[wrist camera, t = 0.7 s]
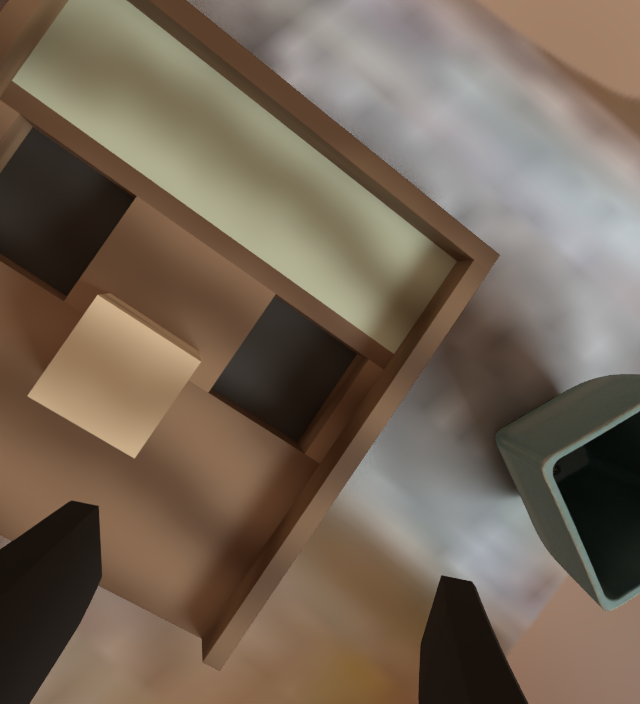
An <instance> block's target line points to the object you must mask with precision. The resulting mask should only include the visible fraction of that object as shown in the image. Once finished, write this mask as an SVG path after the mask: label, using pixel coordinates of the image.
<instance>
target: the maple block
mask: <svg viewBox="0 0 640 704" xmlns="http://www.w3.org/2000/svg"><path fill="white" fill-rule="evenodd" d="M200 363H201V357H200V351H198V350H197V349H195V348H194V347H192V346H191V345H189V344H188V343H186V342H185V341H183V340H181V339H180V338H178V337H177V336H175V335H174V334H172V333H171V332H169V331H168V330H166V329H165V328H163V327H161V326H160V325H158V324H157V323H155V322H154V321H152V320H151V319H149V318H148V317H146V316H145V315H143V314H142V313H140V312H138V311H137V310H135V309H134V308H132V307H131V306H129V305H128V304H126V303H125V302H123V301H122V300H120V299H118V298H117V297H115V296H114V295H112V294H111V293H108V294H100V295H97V296H96V298H95V299H94V301H93V302H92V303H91V305H90V306H89V308H88V309H87V311H86V312H85V314H84V315H83V316H82V318H81V319H80V321H79V322H78V324H77V325H76V327H75V328H74V329H73V331H72V332H71V334H70V335H69V337H68V338H67V339H66V341H65V342H64V344H63V345H62V347H61V348H60V350H59V351H58V352H57V354H56V355H55V357H54V358H53V360H52V361H51V363H50V364H49V365H48V367H47V368H46V370H45V371H44V373H43V374H42V375H41V377H40V378H39V380H38V381H37V383H36V384H35V386H34V387H33V388H32V390H31V391H30V393H29V394H28V397H30V398H31V399H33V400H35V401H36V402H38V403H40V404H42V405H43V406H45V407H47V408H48V409H50V410H52V411H54V412H55V413H57V414H59V415H60V416H62V417H64V418H66V419H67V420H69V421H71V422H73V423H74V424H76V425H78V426H79V427H81V428H83V429H85V430H86V431H88V432H90V433H91V434H93V435H95V436H97V437H98V438H100V439H102V440H103V441H105V442H107V443H109V444H110V445H112V446H114V447H115V448H117V449H119V450H121V451H122V452H124V453H126V454H128V455H129V456H131V457H133V458H134V459H135V457H136V456H137V454H138V453H139V452H140V450H141V449H142V447H143V446H144V444H145V443H146V441H147V440H148V438H149V437H150V436H151V434H152V433H153V431H154V430H155V428H156V427H157V425H158V424H159V422H160V421H161V419H162V418H163V417H164V415H165V414H166V412H167V411H168V409H169V408H170V406H171V405H172V403H173V402H174V401H175V399H176V398H177V396H178V395H179V393H180V392H181V390H182V389H183V387H184V386H185V385H186V383H187V382H188V380H189V379H190V377H191V376H192V374H193V373H194V371H195V370H196V368H197V367H198V366H199V364H200Z"/></svg>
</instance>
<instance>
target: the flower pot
mask: <svg viewBox="0 0 640 704" xmlns="http://www.w3.org/2000/svg"><path fill="white" fill-rule="evenodd" d="M495 439H496V444H497V446H498V449H499V451H500V453H501V455H502V457H503V459H504V461H505V464H506V466H507V468H508V470H509V472H510V474H511V477H512V479H513V481H514V483H515V485H516V488H517V490H518V492H519V494H520V496H521V499H522V501H523V503H524V505H525V507H526V510H527V512H528V514H529V516H530V519H531V521H532V524H533V526H534V528H535V530H536V532H537V534H538V535H539V537H540V539H541V541H542V542H543V544H544V546H545V547H546V549H547V550H548V551H549V553H550V554H551V555H552V556H553V558H554V559H555V560H556V561H557V562H558V563H559V564H560V565H561V566H562V567H563V568H564V569H565V570H566V572H567V573H568V574H569V575H570V576H571V577H572V578H573V579H574V580H575V581H576V582H577V583H578V584H579V585H580V586H581V587H582V588H583V589H584V590H585V591H586V592H587V593H588V594H589V595H590V596H591V597H592V598H593V599H594V600H595V601H596V603H598V605H599V606H600V607H601V608H602V609H603V610H605V611H611V610H613V609H616V608H617V607H620V606H621V605H623V604H625V603H626V602H628V601H629V600H630V599H632V598H634V597H635V596H637V595H638V594H639V593H640V375H636V374H621V375H609V376H604V377H599V378H595V379H592V380H589V381H586V382H583V383H581V384H579V385H577V386H575V387H573V388H571V389H569V390H567V391H565V392H563V393H561V394H560V395H558V396H556V397H555V398H553V399H551V400H550V401H548V402H546V403H545V404H543V405H541V406H540V407H538V408H536V409H535V410H533V411H531V412H529V413H528V414H526V415H524V416H522V417H521V418H519V419H517V420H516V421H514V422H512V423H510V424H508V425H507V426H505V427H503V428H502V429H500V430H499V431H498V432H497V434H496V437H495ZM555 465H556V466H558V472H556V473H553V467H554V466H555Z"/></svg>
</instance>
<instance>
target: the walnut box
mask: <svg viewBox="0 0 640 704" xmlns="http://www.w3.org/2000/svg"><path fill="white" fill-rule="evenodd" d="M499 256H500V255H499V254H498V253H497V252H495V251H494V250H493V249H492V248H491V247H489V246H488V245H487V244H486V243H484V242H483V241H482V240H481V239H479V238H478V237H477V236H476V235H475V234H473V233H472V232H471V231H470V230H468V229H467V228H466V227H465V226H463V225H462V224H461V223H460V222H458V221H457V220H456V219H455V218H454V217H452V216H451V215H450V214H449V213H447V212H446V211H445V210H444V209H442V208H441V207H440V206H439V205H438V204H436V203H435V202H434V201H433V200H431V199H430V198H429V197H428V196H426V195H425V194H424V193H423V192H422V191H420V190H419V189H418V188H417V187H415V186H414V185H413V184H412V183H410V182H409V181H408V180H407V179H406V178H404V177H403V176H402V175H401V174H399V173H398V172H397V171H396V170H394V169H393V168H392V167H391V166H390V165H388V164H387V163H386V162H385V161H383V160H382V159H381V158H380V157H378V156H377V155H376V154H375V153H374V152H372V151H371V150H370V149H369V148H367V147H366V146H365V145H364V144H362V143H361V142H360V141H359V140H357V139H356V138H355V137H354V136H353V135H351V134H350V133H349V132H348V131H346V130H345V129H344V128H343V127H341V126H340V125H339V124H338V123H337V122H335V121H334V120H333V119H332V118H330V117H329V116H328V115H327V114H325V113H324V112H323V111H322V110H321V109H319V108H318V107H317V106H316V105H314V104H313V103H312V102H311V101H309V100H308V99H307V98H306V97H305V96H303V95H302V94H301V93H300V92H298V91H297V90H296V89H295V88H293V87H292V86H291V85H290V84H289V83H287V82H286V81H285V80H284V79H282V78H281V77H280V76H279V75H277V74H276V73H275V72H274V71H273V70H271V69H270V68H269V67H268V66H266V65H265V64H264V63H263V62H261V61H260V60H259V59H258V58H256V57H255V56H254V55H253V54H252V53H250V52H249V51H248V50H247V49H245V48H244V47H243V46H242V45H240V44H239V43H238V42H237V41H236V40H234V39H233V38H232V37H231V36H229V35H228V34H227V33H226V32H224V31H223V30H222V29H221V28H220V27H218V26H217V25H216V24H215V23H213V22H212V21H211V20H210V19H208V18H207V17H206V16H205V15H204V14H202V13H201V12H200V11H199V10H197V9H196V8H195V7H194V6H192V5H191V4H190V3H189V2H188V1H186V0H8V2H7V3H6V5H5V6H4V7H3V9H2V10H1V12H0V535H2V536H3V537H5V538H7V539H9V540H11V541H13V540H15V539H16V538H17V537H19V536H20V535H22V534H23V533H25V532H26V531H28V530H29V529H30V528H32V527H33V526H35V525H36V524H37V523H39V522H40V521H42V520H43V519H45V518H46V517H47V516H49V515H50V514H52V513H53V512H55V511H56V510H58V509H59V508H61V507H62V506H63V505H65V504H66V503H68V502H69V501H71V500H73V501H78V502H82V503H87V504H92V505H97V506H99V519H100V540H101V560H102V578H101V580H100V583H99V586H101V587H103V588H104V589H106V590H108V591H110V592H112V593H114V594H116V595H118V596H120V597H122V598H124V599H126V600H128V601H130V602H132V603H134V604H136V605H137V606H139V607H141V608H143V609H145V610H147V611H149V612H151V613H153V614H155V615H157V616H159V617H161V618H163V619H165V620H167V621H169V622H170V623H172V624H174V625H176V626H178V627H180V628H182V629H184V630H186V631H188V632H190V633H192V634H194V635H196V636H198V637H200V638H202V657H203V663H205V664H207V665H209V666H211V667H213V668H215V669H217V670H219V671H220V670H221V669H222V667H223V666H224V664H225V663H226V661H227V660H228V658H229V657H230V655H231V654H232V652H233V651H234V649H235V648H236V646H237V645H238V643H239V642H240V640H241V639H242V637H243V636H244V634H245V633H246V631H247V630H248V628H249V627H250V625H251V624H252V622H253V621H254V620H255V618H256V617H257V615H258V614H259V612H260V611H261V609H262V608H263V606H264V605H265V603H266V602H267V600H268V599H269V597H270V596H271V594H272V593H273V591H274V590H275V588H276V587H277V585H278V584H279V582H280V581H281V579H282V578H283V576H284V575H285V573H286V572H287V571H288V569H289V568H290V566H291V565H292V563H293V562H294V560H295V559H296V557H297V556H298V554H299V553H300V551H301V550H302V548H303V547H304V545H305V544H306V542H307V541H308V539H309V538H310V536H311V535H312V533H313V532H314V530H315V529H316V527H317V526H318V524H319V523H320V522H321V520H322V519H323V517H324V516H325V514H326V513H327V511H328V510H329V508H330V507H331V505H332V504H333V502H334V501H335V499H336V498H337V496H338V495H339V493H340V492H341V490H342V489H343V487H344V486H345V484H346V483H347V481H348V480H349V478H350V477H351V475H352V474H353V473H354V471H355V470H356V468H357V467H358V465H359V464H360V462H361V461H362V459H363V458H364V456H365V455H366V453H367V452H368V450H369V449H370V447H371V446H372V444H373V443H374V441H375V440H376V438H377V437H378V435H379V434H380V432H381V431H382V429H383V428H384V426H385V425H386V424H387V422H388V421H389V419H390V418H391V416H392V415H393V413H394V412H395V410H396V409H397V407H398V406H399V404H400V403H401V401H402V400H403V398H404V397H405V395H406V394H407V392H408V391H409V389H410V388H411V386H412V385H413V383H414V382H415V380H416V379H417V377H418V376H419V375H420V373H421V372H422V370H423V369H424V367H425V366H426V364H427V363H428V361H429V360H430V358H431V357H432V355H433V354H434V352H435V351H436V349H437V348H438V346H439V345H440V343H441V342H442V340H443V339H444V337H445V336H446V334H447V333H448V331H449V330H450V329H451V327H452V326H453V324H454V323H455V321H456V320H457V318H458V317H459V315H460V314H461V312H462V311H463V309H464V308H465V306H466V305H467V303H468V302H469V300H470V299H471V297H472V296H473V294H474V293H475V291H476V290H477V288H478V287H479V285H480V284H481V282H482V281H483V280H484V278H485V277H486V275H487V274H488V272H489V271H490V269H491V268H492V266H493V265H494V263H495V262H496V260H497V259H498V257H499ZM108 293H111V294H112V295H114V296H115V297H117V298H118V299H120V300H122V301H123V302H125V303H126V304H128V305H129V306H131V307H132V308H134V309H135V310H137V311H138V312H140V313H142V314H143V315H145V316H146V317H148V318H149V319H151V320H152V321H154V322H155V323H157V324H158V325H160V326H161V327H163V328H165V329H166V330H168V331H169V332H171V333H172V334H174V335H175V336H177V337H178V338H180V339H181V340H183V341H185V342H186V343H188V344H189V345H191V346H192V347H194V348H195V349H197V350H198V351H200V357H201V363H200V364H199V366H198V367H197V368H196V370H195V371H194V373H193V374H192V376H191V377H190V379H189V380H188V382H187V383H186V385H185V386H184V387H183V389H182V390H181V392H180V393H179V395H178V396H177V398H176V399H175V401H174V402H173V403H172V405H171V406H170V408H169V409H168V411H167V412H166V414H165V415H164V417H163V418H162V419H161V421H160V422H159V424H158V425H157V427H156V428H155V430H154V431H153V433H152V434H151V436H150V437H149V438H148V440H147V441H146V443H145V444H144V446H143V447H142V449H141V450H140V452H139V453H138V454H137V456H136V457H135V459H134V458H133V457H131V456H129V455H128V454H126V453H124V452H122V451H121V450H119V449H117V448H115V447H114V446H112V445H110V444H109V443H107V442H105V441H103V440H102V439H100V438H98V437H97V436H95V435H93V434H91V433H90V432H88V431H86V430H85V429H83V428H81V427H79V426H78V425H76V424H74V423H73V422H71V421H69V420H67V419H66V418H64V417H62V416H60V415H59V414H57V413H55V412H54V411H52V410H50V409H48V408H47V407H45V406H43V405H42V404H40V403H38V402H36V401H35V400H33V399H31V398H30V397H28V394H29V393H30V391H31V390H32V388H33V387H34V386H35V384H36V383H37V381H38V380H39V378H40V377H41V375H42V374H43V373H44V371H45V370H46V368H47V367H48V365H49V364H50V363H51V361H52V360H53V358H54V357H55V355H56V354H57V352H58V351H59V350H60V348H61V347H62V345H63V344H64V342H65V341H66V339H67V338H68V337H69V335H70V334H71V332H72V331H73V329H74V328H75V327H76V325H77V324H78V322H79V321H80V319H81V318H82V316H83V315H84V314H85V312H86V311H87V309H88V308H89V306H90V305H91V303H92V302H93V301H94V299H95V298H96V296H97V295H100V294H108Z"/></svg>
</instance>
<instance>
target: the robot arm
mask: <svg viewBox="0 0 640 704" xmlns="http://www.w3.org/2000/svg"><path fill="white" fill-rule="evenodd" d="M101 578H102V560H101V540H100V519H99V506H97V505H92V504H87V503H82V502H78V501H73V500H71V501H69V502H68V503H66V504H65V505H63V506H62V507H61V508H59V509H58V510H56V511H55V512H53V513H52V514H50V515H49V516H47V517H46V518H45V519H43V520H42V521H40V522H39V523H37V524H36V525H35V526H33V527H32V528H30V529H29V530H28V531H26V532H25V533H23V534H22V535H20V536H19V537H17V538H16V539H15V540H13V541H12V542H10V543H9V544H7V545H6V546H4V547H3V548H1V549H0V704H30V702H31V700H32V699H33V697H34V696H35V694H36V693H37V691H38V689H39V688H40V686H41V685H42V683H43V682H44V680H45V678H46V677H47V675H48V674H49V672H50V671H51V669H52V667H53V666H54V664H55V663H56V661H57V659H58V658H59V656H60V655H61V653H62V651H63V650H64V648H65V647H66V645H67V643H68V642H69V640H70V639H71V637H72V635H73V634H74V632H75V631H76V629H77V627H78V626H79V624H80V622H81V620H82V618H83V616H84V614H85V612H86V610H87V608H88V606H89V604H90V602H91V600H92V598H93V596H94V593H95V591H96V589H97V587H98V585H99V583H100V580H101ZM419 704H528V702H527V700H526V698H525V696H524V694H523V692H522V690H521V688H520V686H519V684H518V682H517V680H516V678H515V676H514V674H513V672H512V670H511V668H510V666H509V664H508V662H507V660H506V658H505V655H504V653H503V651H502V649H501V647H500V644H499V642H498V640H497V638H496V635H495V633H494V631H493V629H492V626H491V624H490V622H489V619H488V617H487V614H486V612H485V610H484V607H483V605H482V602H481V599H480V597H479V594H478V592H477V589H476V587H475V585H474V584H473V583H472V582H471V581H466V580H461V579H457V578H452V577H447V576H442V575H441V578H440V582H439V585H438V588H437V592H436V595H435V598H434V602H433V605H432V608H431V612H430V615H429V618H428V622H427V625H426V628H425V632H424V635H423V638H422V642H421V649H420V670H419Z"/></svg>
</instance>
